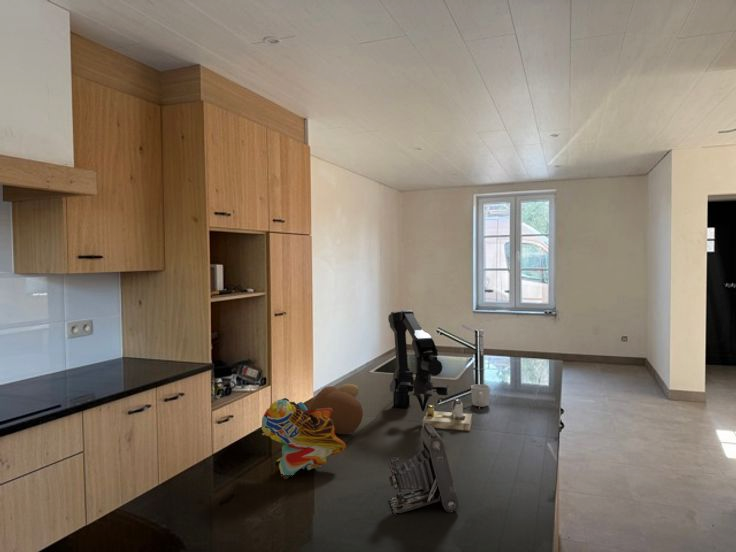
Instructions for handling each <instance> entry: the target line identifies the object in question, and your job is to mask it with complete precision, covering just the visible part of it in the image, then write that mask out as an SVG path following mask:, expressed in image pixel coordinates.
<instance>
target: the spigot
mask: <svg viewBox="0 0 736 552" xmlns="http://www.w3.org/2000/svg"><path fill="white" fill-rule="evenodd" d="M463 407H464V406H463V402H462V399H460V398H453V401H452V402H451V412H452V420H463V413H464V412H463V411H464V410H463V409H464V408H463Z"/></svg>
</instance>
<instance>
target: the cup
mask: <svg viewBox="0 0 736 552" xmlns="http://www.w3.org/2000/svg"><path fill="white" fill-rule="evenodd" d="M470 393H471V403H472V404H473V406H476V407H478V406H479V407H480V408H481V407H482V408H485V407H488V405H489V402H490V396H491V395H490V393H491V387H490V386H489V385H487V384H480V383H478V384H476V383H475V384H472V385H471V386H470Z"/></svg>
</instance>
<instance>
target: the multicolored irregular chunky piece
mask: <svg viewBox="0 0 736 552" xmlns="http://www.w3.org/2000/svg"><path fill="white" fill-rule="evenodd" d="M308 409H309V408H307V406H306V405H305V403H303V402H302V401H299V402H297V403H296V402H295V401H290V400H289V399H288V398H286V397H284V398H281V399H277V400H274V402H273V403H271V404H270V405H269V407H268V408H267V409H266V411H265V412H264V413H263V415H262V418H261V430H262V432H263V433H262V434H261V436H267V437H269V438H270V439H271V440H274V441H275V442H278V443H281V444H282V446H281V457H279V458H278V459H277V460H276V462H279V463H278V467H279V471H280V475H281V474H283V475H292V476H293V475H295V474H296V473H297V472H298V471H299V470H301V469H303V470H305V468H306V469H307V471H310V470H312V469H316V468H315V467H317V468H321V467H322V466H323V465H326V463H327V457H328V456H333V455H338V454H341V453H343V452H344V451H345V450H346V448H347V445H346V443H345V442H344V441H343V440H342V439H340V438H339V437H337V435H336V433H335V429H334V426H333V422H332V420H331V419H330V416H331V414H332V412H333V409H332V408H321V409H313V410H308Z"/></svg>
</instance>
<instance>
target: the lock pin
mask: <svg viewBox="0 0 736 552" xmlns="http://www.w3.org/2000/svg"><path fill="white" fill-rule="evenodd" d="M434 411H435V405H434V404H433V405H432V404H428V405H426V413H427V415H426V414H425V417H438V418H443V415H434Z"/></svg>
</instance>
